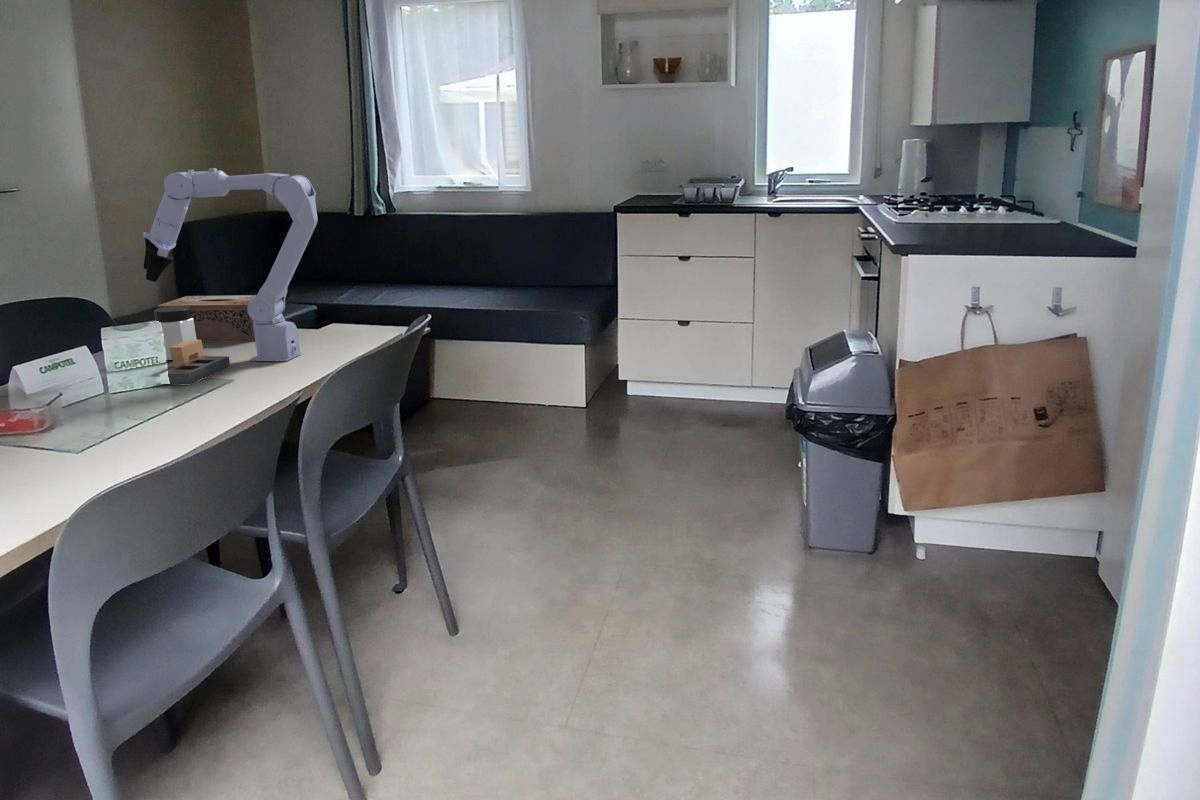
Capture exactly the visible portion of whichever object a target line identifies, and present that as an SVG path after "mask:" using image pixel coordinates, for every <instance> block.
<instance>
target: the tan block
mask: <svg viewBox="0 0 1200 800" xmlns="http://www.w3.org/2000/svg"><path fill="white" fill-rule="evenodd" d="M203 351H204V346H203V342H202V340H188V341H185V342H182V343H180V344H177V345H174V346H172V347H170V353H171V358H172V360H173V361H172V365H173V368H174V367H176V366H178V365H181V364H183V363H186V362H188V361H191V360H193V359H195V358H198V357H200V356H204V353H203Z"/></svg>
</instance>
